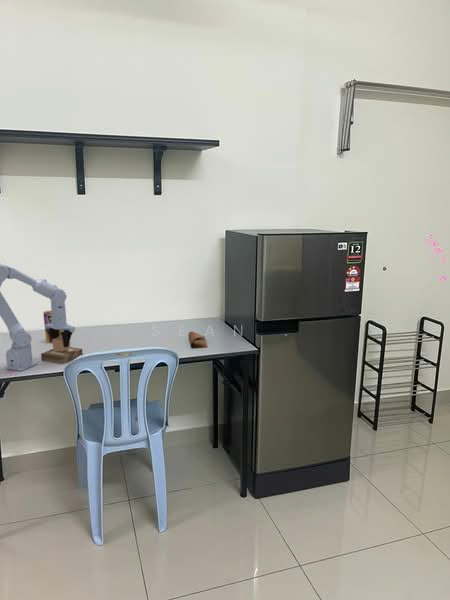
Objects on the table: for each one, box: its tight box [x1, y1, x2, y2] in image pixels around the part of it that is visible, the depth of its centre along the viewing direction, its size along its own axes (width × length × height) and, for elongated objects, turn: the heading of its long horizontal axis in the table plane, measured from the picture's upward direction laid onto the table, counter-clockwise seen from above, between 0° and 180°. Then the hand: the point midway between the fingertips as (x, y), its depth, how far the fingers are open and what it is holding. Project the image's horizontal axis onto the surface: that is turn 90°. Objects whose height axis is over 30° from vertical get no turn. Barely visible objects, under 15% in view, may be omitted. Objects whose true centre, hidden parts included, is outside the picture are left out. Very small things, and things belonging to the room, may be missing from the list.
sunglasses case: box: [187, 331, 209, 349], centre depth 216 cm, size 18×7×7 cm
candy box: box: [43, 310, 63, 344], centre depth 217 cm, size 9×4×15 cm, turn 96°
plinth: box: [40, 346, 84, 365], centre depth 195 cm, size 12×12×3 cm
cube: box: [52, 336, 71, 352], centre depth 194 cm, size 5×5×5 cm
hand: (61, 345), depth 194 cm, fingers closed on cube, 5 cm apart
